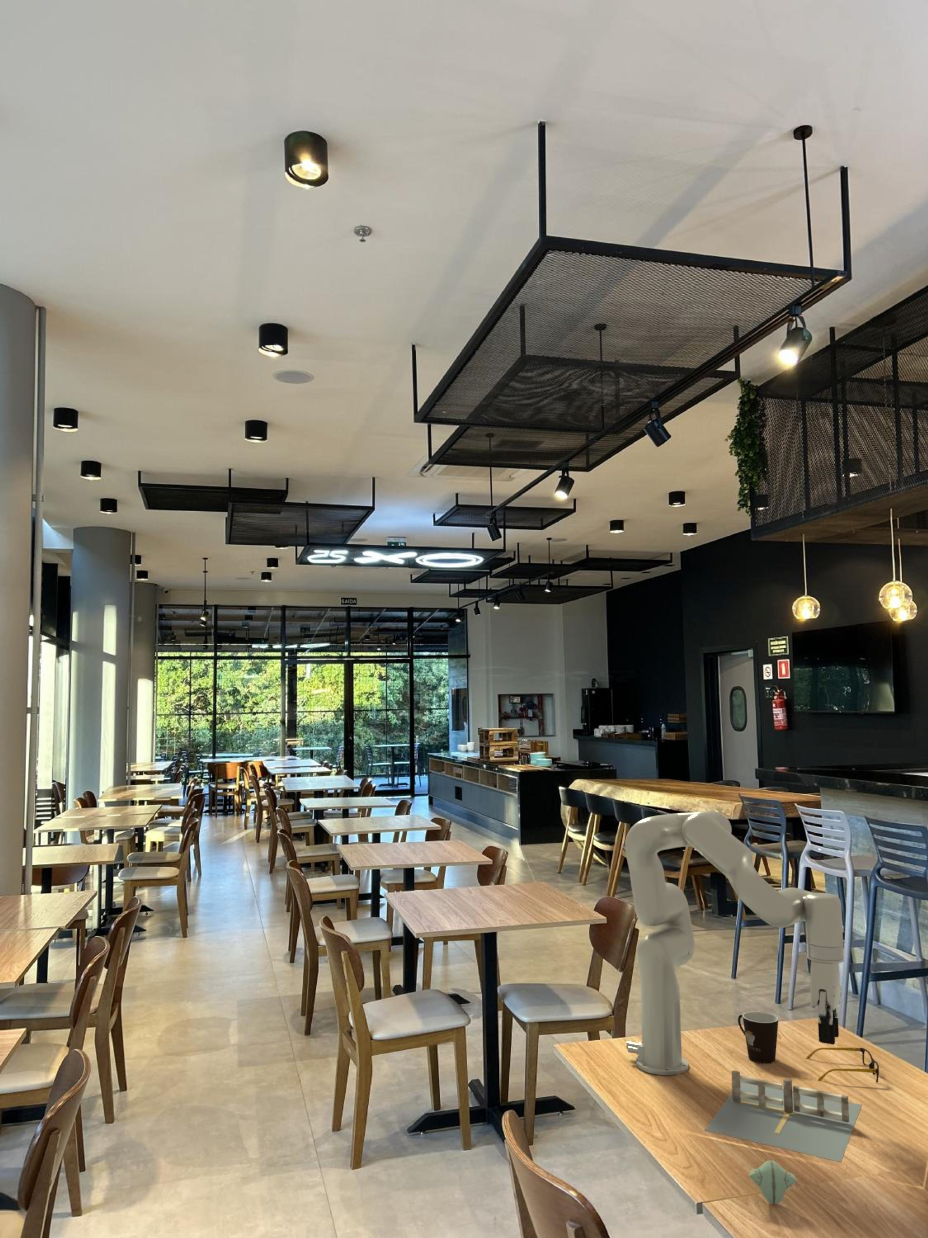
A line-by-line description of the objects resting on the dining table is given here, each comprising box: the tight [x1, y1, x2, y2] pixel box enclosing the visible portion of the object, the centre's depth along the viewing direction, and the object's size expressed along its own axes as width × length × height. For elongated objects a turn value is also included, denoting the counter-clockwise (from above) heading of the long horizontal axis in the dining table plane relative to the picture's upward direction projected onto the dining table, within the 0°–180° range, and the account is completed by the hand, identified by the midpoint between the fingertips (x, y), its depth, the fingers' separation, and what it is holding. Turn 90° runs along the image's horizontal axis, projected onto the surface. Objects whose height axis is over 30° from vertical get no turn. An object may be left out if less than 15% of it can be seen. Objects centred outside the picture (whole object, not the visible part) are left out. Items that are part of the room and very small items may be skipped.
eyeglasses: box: [805, 1047, 880, 1083], centre depth 215 cm, size 14×14×4 cm
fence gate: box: [792, 1085, 849, 1122], centre depth 188 cm, size 11×1×5 cm, turn 59°
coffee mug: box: [737, 1011, 779, 1065], centre depth 224 cm, size 12×9×10 cm
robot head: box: [748, 1159, 798, 1205], centre depth 155 cm, size 8×4×7 cm, turn 78°
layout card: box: [704, 1082, 863, 1163], centre depth 188 cm, size 26×30×1 cm
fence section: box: [731, 1070, 793, 1113], centre depth 194 cm, size 13×2×6 cm, turn 59°
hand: (828, 1038), depth 193 cm, fingers open, 4 cm apart
